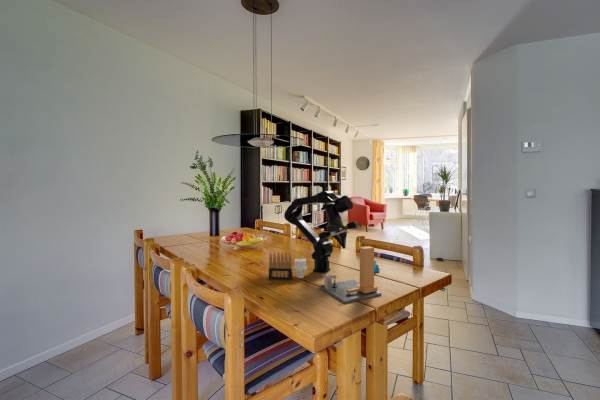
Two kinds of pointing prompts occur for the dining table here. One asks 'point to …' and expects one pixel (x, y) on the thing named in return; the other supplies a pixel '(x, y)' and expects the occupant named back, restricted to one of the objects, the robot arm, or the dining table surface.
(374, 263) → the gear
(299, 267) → the pipe fitting
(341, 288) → the plate
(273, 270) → the ammunition clip
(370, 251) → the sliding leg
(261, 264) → the dining table surface
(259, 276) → the dining table surface
